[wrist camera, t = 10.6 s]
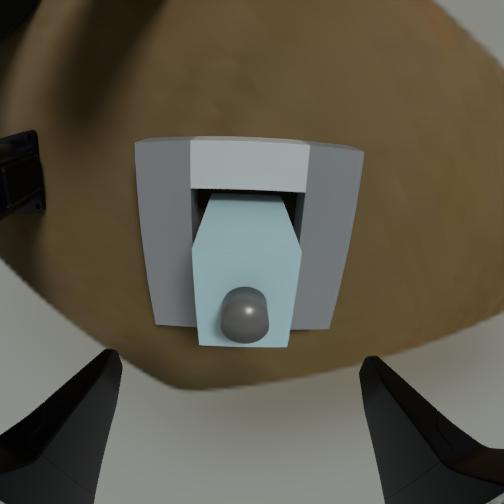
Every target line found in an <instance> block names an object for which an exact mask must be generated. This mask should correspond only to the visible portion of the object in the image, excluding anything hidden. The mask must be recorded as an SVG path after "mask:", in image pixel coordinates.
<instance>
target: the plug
mask: <svg viewBox="0 0 504 504" xmlns="http://www.w3.org/2000/svg"><path fill="white" fill-rule="evenodd" d="M301 255H302V251H301V248H300V246H299V243H298V240H297V237H296V235H295V232H294V229H293V226H292V224H291V221H290V218H289V216H288V213H287V210H286V208H285V205H284V202H283V200H282V197H281V195H259V194H228V193H212V194H211V197H210V200H209V202H208V205H207V208H206V210H205V213H204V216H203V219H202V221H201V224H200V227H199V230H198V232H197V235H196V238H195V241H194V244H193V247H192V263H193V278H194V292H195V305H196V316H197V327H198V337H199V345H207V346H231V347H287V345H288V339H289V334H290V328H291V322H292V316H293V309H294V303H295V297H296V290H297V283H298V277H299V270H300V263H301Z"/></svg>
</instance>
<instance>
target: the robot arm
mask: <svg viewBox="0 0 504 504" xmlns="http://www.w3.org/2000/svg"><path fill="white" fill-rule="evenodd" d="M30 135H31V136H32V138H30ZM39 204H40V207H39ZM44 209H45V201H44V195H43V188H42V181H41V173H40V165H39V155H38V143H37V133H36V131H35V130H30V131H26V132H22V133H18V134H15V135H11V136H7V137H4V138H1V139H0V221H2V220H3V219H5V218H6V217H8V216H9V215H11V214H14V213H33V212H41V211H42V210H44ZM121 375H122V363H121V360H120V357H119V355H118V352H117V351H116V350H114V349H105V350H104V351H102V352H101V353H100V354H99V355H98V356H97V357H95V358H94V359H93V360H92V361H91V362H90V363H88V364H87V365H86V366H85V367H84V368H83V369H81V370H80V371H79V372H78V373H77V374H76V375H74V376H73V377H72V378H71V379H70V380H69V381H67V382H66V383H65V384H64V385H63V386H62V387H61V388H59V389H58V390H57V391H56V392H55V393H54V394H52V395H51V396H50V397H49V398H48V399H47V400H46V401H45V403H42V404H41V405H40V406H39V407H38V408H36V409H35V410H34V411H33V412H32V413H30V414H29V415H28V416H27V417H25V418H24V419H22V420H21V421H20V422H18V423H17V424H16V425H14V426H13V427H11V428H10V429H9V430H7V431H6V432H4V433H3V434H1V435H0V504H94V498H95V493H96V487H97V483H98V478H99V473H100V468H101V464H102V459H103V455H104V451H105V447H106V443H107V439H108V435H109V431H110V427H111V423H112V420H113V416H114V412H115V408H116V404H117V399H118V393H119V387H120V381H121ZM359 377H360V384H361V391H362V398H363V405H364V411H365V415H366V419H367V423H368V427H369V431H370V436H371V440H372V444H373V448H374V452H375V457H376V462H377V466H378V471H379V475H380V480H381V485H382V490H383V495H384V500H385V504H504V449H493V448H488V447H486V446H484V445H482V444H480V443H479V442H477V441H476V440H474V439H473V438H472V437H470V436H469V435H468V434H466V433H465V432H464V431H462V430H461V429H459V428H458V427H457V426H456V425H454V424H453V423H452V422H451V421H449V420H448V419H447V418H446V417H445V416H444V415H442V414H441V413H440V412H439V411H437V409H436V408H435V407H434V406H432V405H431V404H430V403H429V402H428V401H427V400H426V399H424V398H423V397H422V396H421V395H420V394H419V393H418V392H417V391H416V390H415V389H414V388H412V387H411V386H410V385H409V384H408V383H407V382H406V381H405V380H404V379H402V378H401V377H400V376H399V375H398V374H397V373H396V372H394V371H393V370H392V369H391V368H390V367H389V366H388V365H387V364H386V363H384V362H383V361H382V360H381V359H380V358H379V357H378V356H367V357H366V358H365V360H364V362H363V364H362V367H361V369H360V372H359Z"/></svg>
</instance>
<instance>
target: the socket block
mask: <svg viewBox="0 0 504 504" xmlns="http://www.w3.org/2000/svg"><path fill="white" fill-rule="evenodd" d="M363 159H364V152H363V151H361V150H359V149H356V148H354V147H352V146H347V145H340V144H331V143H323V142H313V141H303V140H291V139H277V138H260V137H233V136H183V137H156V138H147V139H144V140H141V141H138V142H136V143H135V163H136V180H137V193H138V205H139V216H140V225H141V234H142V242H143V250H144V257H145V264H146V271H147V278H148V284H149V290H150V296H151V302H152V307H153V312H154V318H155V323H156V324H157V325H170V326H185V327H197V316H196V305H195V292H194V278H193V263H192V247H193V244H194V241H195V238H196V235H197V232H198V189H244V190H268V191H288V192H297V199H296V209H295V218H294V228H293V229H294V232H295V235H296V237H297V240H298V243H299V246H300V248H301V251H302V255H301V263H300V270H299V277H298V283H297V290H296V297H295V303H294V309H293V316H292V322H291V328H290V330H301V329H329V327H330V324H331V320H332V316H333V312H334V308H335V304H336V301H337V296H338V292H339V288H340V284H341V280H342V275H343V271H344V267H345V262H346V257H347V253H348V248H349V243H350V238H351V233H352V227H353V222H354V217H355V211H356V205H357V199H358V193H359V187H360V180H361V173H362V166H363Z"/></svg>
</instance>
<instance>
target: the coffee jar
mask: <svg viewBox="0 0 504 504" xmlns="http://www.w3.org/2000/svg"><path fill="white" fill-rule="evenodd" d="M36 1H37V0H0V41H1V40H2V39H3V38H5V37H6V36H7V35H9V34H10V33H11V32H13V30H14V29H15V28H16V27H17V26H18V25H19V24H20V23H21V22H22V21H23V20H24V19H25V17H26V16H27V14H28V13H29V12H30V10H31V9H32V8H33V6H34V5H35V3H36Z"/></svg>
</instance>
